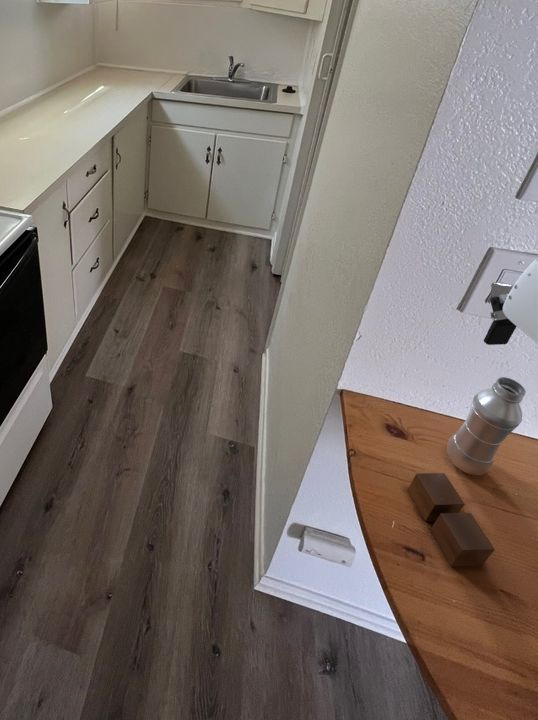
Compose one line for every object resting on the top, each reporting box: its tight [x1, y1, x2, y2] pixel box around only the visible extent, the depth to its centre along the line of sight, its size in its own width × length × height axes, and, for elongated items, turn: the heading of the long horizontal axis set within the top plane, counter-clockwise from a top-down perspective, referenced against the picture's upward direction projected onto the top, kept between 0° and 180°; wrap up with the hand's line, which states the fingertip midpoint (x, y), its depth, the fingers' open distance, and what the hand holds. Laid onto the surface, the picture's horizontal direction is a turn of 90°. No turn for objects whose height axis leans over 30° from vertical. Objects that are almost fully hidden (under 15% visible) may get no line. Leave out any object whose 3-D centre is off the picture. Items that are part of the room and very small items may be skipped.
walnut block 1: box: [406, 472, 466, 522], centre depth 70 cm, size 5×5×5 cm
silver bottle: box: [446, 376, 526, 476], centre depth 73 cm, size 6×7×20 cm
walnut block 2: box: [429, 512, 496, 567], centre depth 64 cm, size 5×5×5 cm
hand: (522, 369), depth 59 cm, fingers open, 9 cm apart
